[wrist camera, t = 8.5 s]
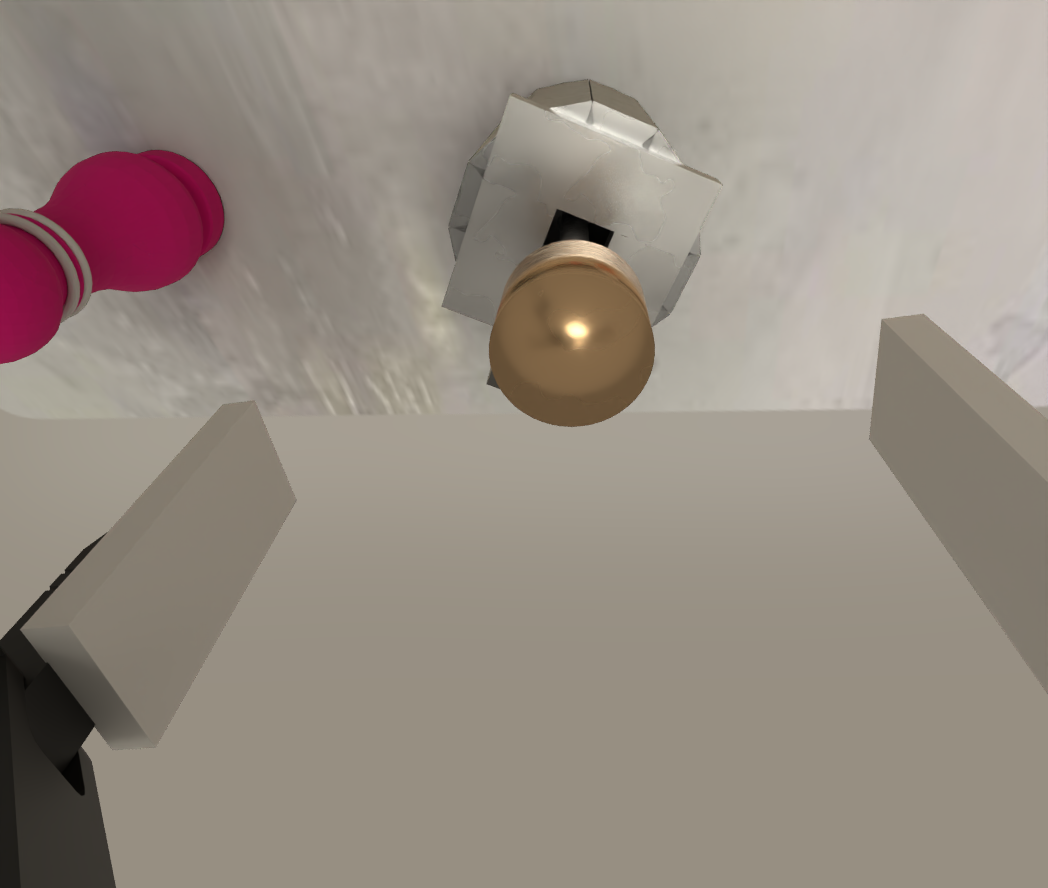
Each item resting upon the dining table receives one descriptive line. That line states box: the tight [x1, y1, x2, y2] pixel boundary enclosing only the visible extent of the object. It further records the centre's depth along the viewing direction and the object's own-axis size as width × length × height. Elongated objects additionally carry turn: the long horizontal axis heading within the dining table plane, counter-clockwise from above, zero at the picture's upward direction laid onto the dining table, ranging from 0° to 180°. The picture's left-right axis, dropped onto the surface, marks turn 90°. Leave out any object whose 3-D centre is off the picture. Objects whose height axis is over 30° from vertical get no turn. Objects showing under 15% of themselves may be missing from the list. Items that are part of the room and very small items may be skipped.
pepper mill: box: [0, 150, 224, 364], centre depth 33 cm, size 7×7×20 cm
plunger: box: [489, 209, 655, 427], centre depth 27 cm, size 7×7×20 cm
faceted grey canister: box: [442, 79, 723, 389], centre depth 34 cm, size 10×13×14 cm
